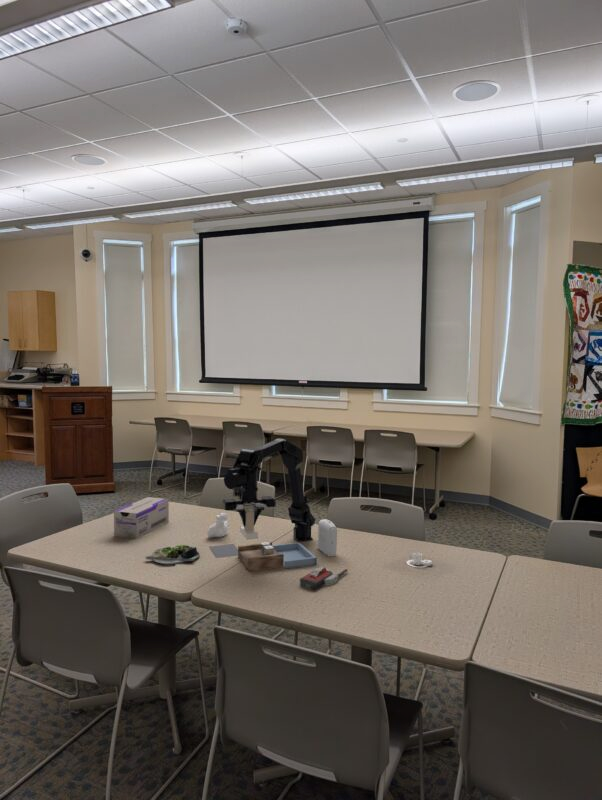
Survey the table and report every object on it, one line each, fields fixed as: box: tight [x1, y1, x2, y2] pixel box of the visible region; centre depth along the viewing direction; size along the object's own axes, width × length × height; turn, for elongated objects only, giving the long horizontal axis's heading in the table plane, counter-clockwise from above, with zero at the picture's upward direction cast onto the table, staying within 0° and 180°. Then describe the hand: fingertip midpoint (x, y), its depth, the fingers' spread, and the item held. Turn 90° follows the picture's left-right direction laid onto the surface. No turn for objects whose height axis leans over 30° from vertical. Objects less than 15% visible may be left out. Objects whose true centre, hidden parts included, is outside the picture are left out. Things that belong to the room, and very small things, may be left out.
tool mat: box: [208, 543, 238, 559], centre depth 211 cm, size 10×13×1 cm
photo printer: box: [317, 518, 338, 557], centre depth 212 cm, size 10×4×12 cm, turn 23°
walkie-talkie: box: [299, 566, 348, 591], centre depth 185 cm, size 9×4×20 cm
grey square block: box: [264, 544, 274, 556], centre depth 199 cm, size 3×3×3 cm
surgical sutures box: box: [113, 496, 170, 539], centre depth 238 cm, size 25×11×11 cm, turn 163°
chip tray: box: [272, 541, 318, 569], centre depth 205 cm, size 12×18×3 cm, turn 21°
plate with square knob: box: [239, 508, 259, 540], centre depth 200 cm, size 4×10×9 cm, turn 20°
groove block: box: [237, 542, 284, 572], centre depth 200 cm, size 13×14×4 cm
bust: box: [206, 512, 230, 539], centre depth 229 cm, size 12×8×11 cm
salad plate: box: [145, 544, 201, 566], centre depth 203 cm, size 19×18×5 cm
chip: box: [259, 541, 270, 553], centre depth 203 cm, size 3×3×3 cm
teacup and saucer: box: [405, 552, 433, 569], centre depth 201 cm, size 9×8×4 cm
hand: (248, 526), depth 200 cm, fingers closed on plate with square knob, 3 cm apart
